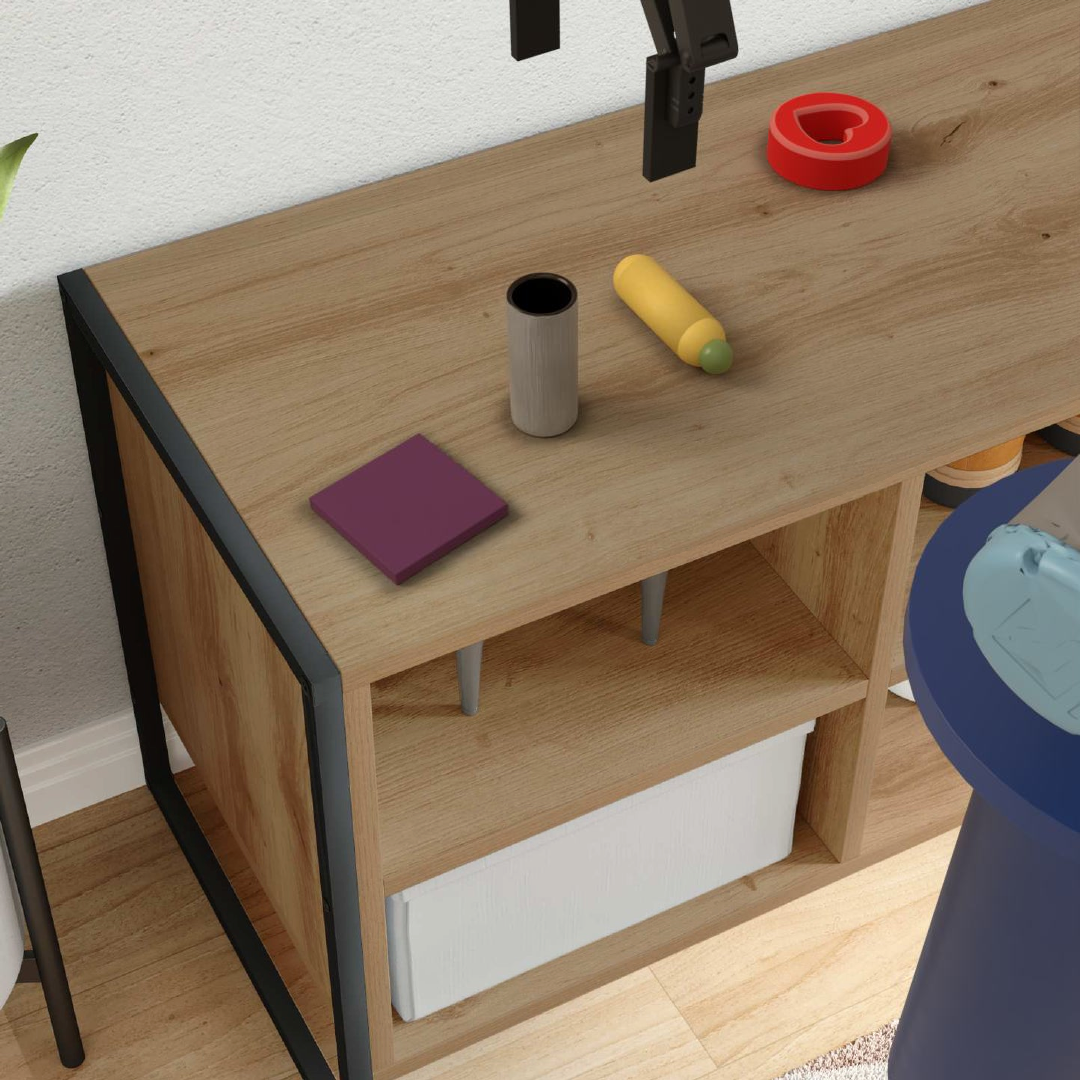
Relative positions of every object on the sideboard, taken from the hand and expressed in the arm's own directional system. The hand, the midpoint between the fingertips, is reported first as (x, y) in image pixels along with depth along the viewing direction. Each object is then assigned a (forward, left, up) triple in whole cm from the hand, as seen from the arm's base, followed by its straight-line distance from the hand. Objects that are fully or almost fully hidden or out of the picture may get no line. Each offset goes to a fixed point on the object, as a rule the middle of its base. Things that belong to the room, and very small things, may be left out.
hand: (599, 109), depth 83 cm
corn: (+10, -12, -27) cm, 31 cm away
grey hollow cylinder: (+7, 0, -27) cm, 28 cm away
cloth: (+3, +12, -27) cm, 29 cm away
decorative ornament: (+22, -35, -27) cm, 49 cm away
